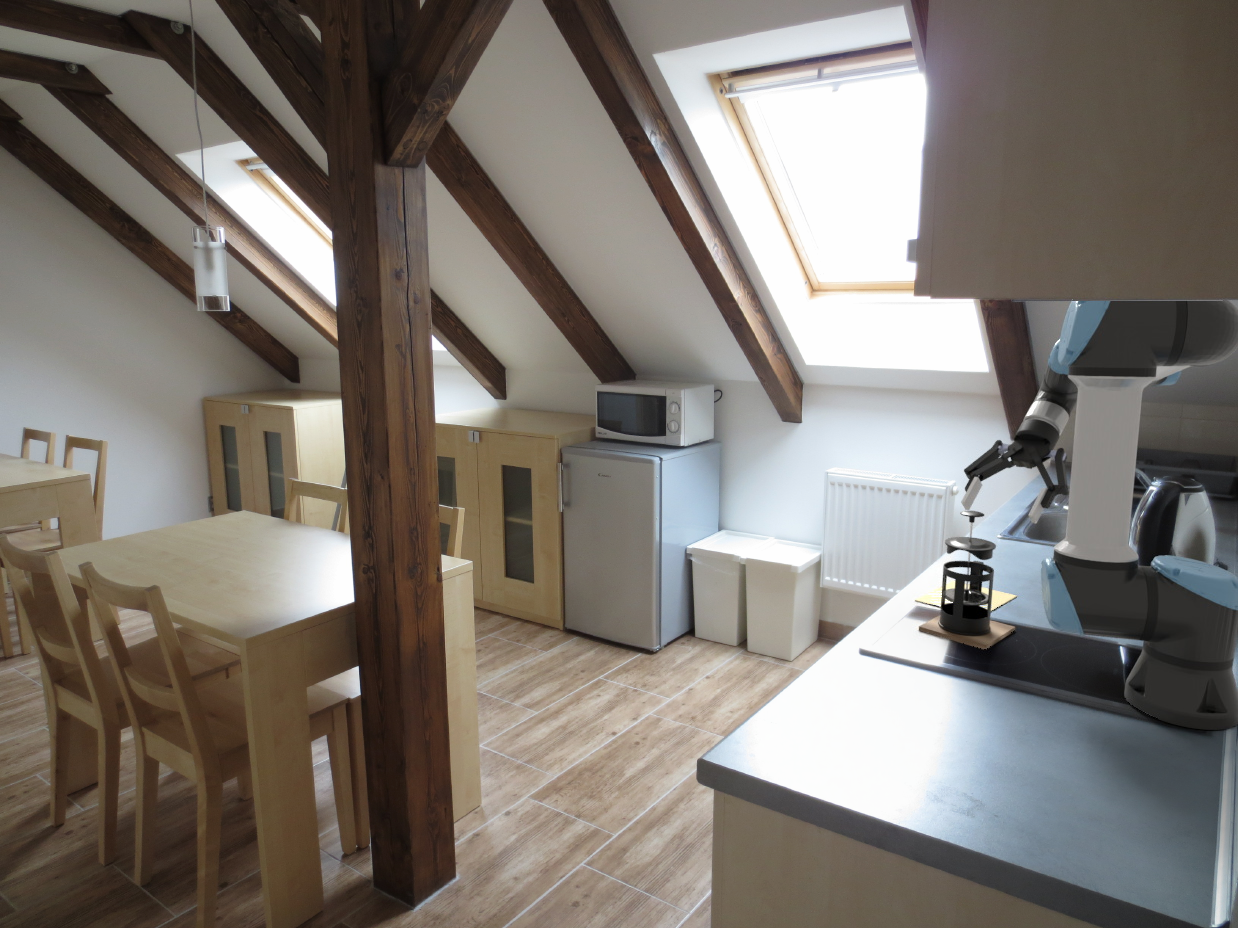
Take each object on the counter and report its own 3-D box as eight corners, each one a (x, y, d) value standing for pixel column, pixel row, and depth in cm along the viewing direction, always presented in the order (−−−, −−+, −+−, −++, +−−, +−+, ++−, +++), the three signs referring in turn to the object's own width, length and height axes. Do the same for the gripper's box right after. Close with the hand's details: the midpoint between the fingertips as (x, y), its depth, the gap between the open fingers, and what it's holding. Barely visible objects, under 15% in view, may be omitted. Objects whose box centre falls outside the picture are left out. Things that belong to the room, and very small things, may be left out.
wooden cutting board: (985, 649, 152) (985, 645, 151) (918, 630, 161) (918, 626, 161) (1014, 630, 160) (1015, 626, 160) (950, 612, 170) (950, 609, 169)
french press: (980, 641, 153) (989, 521, 149) (929, 629, 159) (937, 513, 155) (999, 622, 162) (1009, 509, 158) (951, 611, 168) (958, 501, 164)
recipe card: (979, 618, 167) (979, 617, 166) (914, 600, 177) (915, 599, 177) (1017, 596, 178) (1017, 595, 178) (954, 581, 189) (954, 580, 189)
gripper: (1111, 448, 160) (1068, 536, 154) (988, 433, 180) (945, 511, 174) (1102, 423, 156) (1057, 513, 150) (976, 411, 175) (933, 490, 169)
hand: (997, 512), depth 162 cm, fingers open, 13 cm apart
